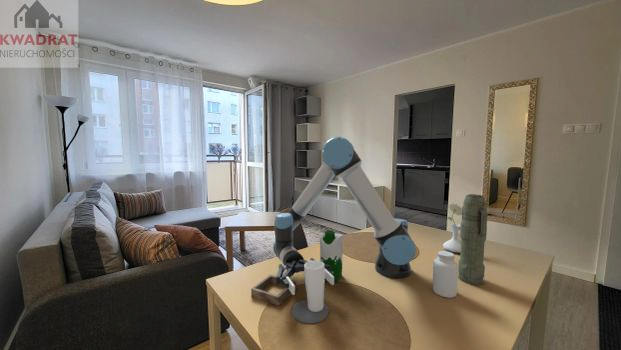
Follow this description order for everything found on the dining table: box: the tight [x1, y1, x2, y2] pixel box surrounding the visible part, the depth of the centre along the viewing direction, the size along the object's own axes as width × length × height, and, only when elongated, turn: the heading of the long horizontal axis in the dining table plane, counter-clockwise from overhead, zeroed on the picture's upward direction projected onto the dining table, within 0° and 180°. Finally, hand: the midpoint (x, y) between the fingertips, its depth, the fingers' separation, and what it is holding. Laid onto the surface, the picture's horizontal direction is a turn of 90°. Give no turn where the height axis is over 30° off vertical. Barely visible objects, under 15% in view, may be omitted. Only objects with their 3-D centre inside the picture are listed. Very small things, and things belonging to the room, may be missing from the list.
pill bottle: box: [432, 250, 459, 299], centre depth 92 cm, size 8×8×15 cm
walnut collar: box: [250, 274, 297, 307], centre depth 93 cm, size 12×12×3 cm
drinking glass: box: [303, 259, 326, 312], centre depth 82 cm, size 7×7×15 cm
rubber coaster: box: [291, 298, 329, 325], centre depth 82 cm, size 12×12×1 cm
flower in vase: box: [442, 202, 462, 254], centre depth 132 cm, size 13×11×25 cm
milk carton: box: [319, 230, 344, 284], centre depth 103 cm, size 9×9×20 cm
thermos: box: [457, 193, 489, 286], centre depth 100 cm, size 9×12×35 cm
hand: (314, 285), depth 78 cm, fingers open, 13 cm apart
